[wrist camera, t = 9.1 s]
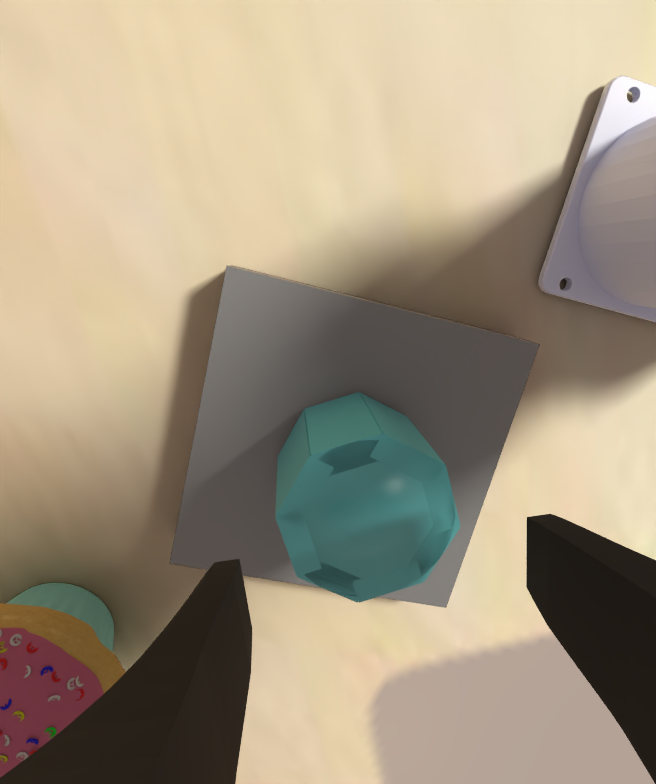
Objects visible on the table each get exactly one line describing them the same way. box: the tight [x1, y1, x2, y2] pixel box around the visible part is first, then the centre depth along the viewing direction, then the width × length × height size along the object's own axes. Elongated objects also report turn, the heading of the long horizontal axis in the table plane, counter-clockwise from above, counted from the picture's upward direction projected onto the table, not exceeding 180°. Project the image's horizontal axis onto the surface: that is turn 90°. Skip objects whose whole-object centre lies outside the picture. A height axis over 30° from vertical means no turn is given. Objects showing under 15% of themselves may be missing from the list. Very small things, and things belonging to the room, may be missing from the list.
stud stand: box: [170, 266, 540, 608], centre depth 18 cm, size 12×12×6 cm
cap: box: [275, 392, 460, 602], centre depth 16 cm, size 5×5×4 cm
